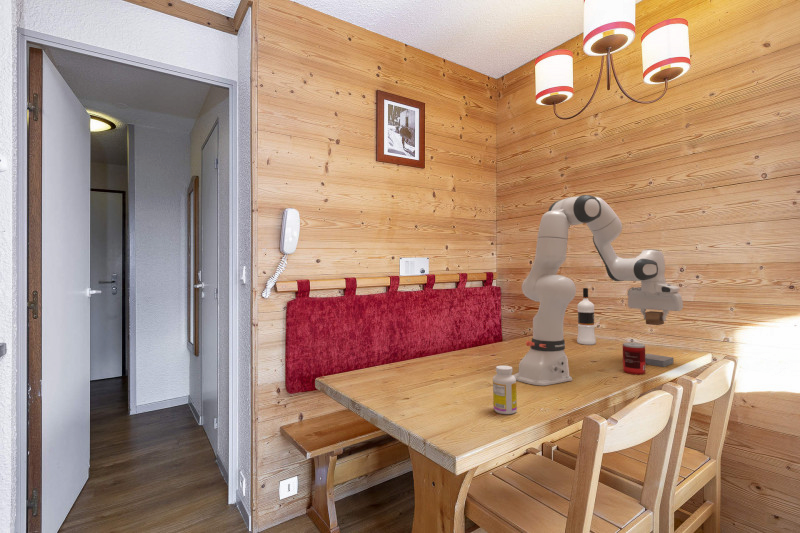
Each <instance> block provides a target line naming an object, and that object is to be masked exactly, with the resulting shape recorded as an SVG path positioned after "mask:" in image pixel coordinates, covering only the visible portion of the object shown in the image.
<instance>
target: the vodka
mask: <svg viewBox="0 0 800 533" xmlns="http://www.w3.org/2000/svg"><path fill="white" fill-rule="evenodd" d="M582 298H583V299H582V300H581V301H580V302H579V303H577V306H576V307H577V338H576V342H577V344H579V345H584V346H592V345H593V346H594V345H595V344H597V339H596V334H595V328H596V325H595V304H594V303H593V302H592V301H590V300H589V288H588V287H582Z"/></svg>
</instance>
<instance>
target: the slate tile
mask: <svg viewBox="0 0 800 533" xmlns="http://www.w3.org/2000/svg"><path fill="white" fill-rule="evenodd" d="M673 364H674V357H673V356H666V355H659V354H655V353H654V354H653V353H645V365H647V366H648V365H650V366H656V367H662V368H666V367H667V366H670V365H673Z"/></svg>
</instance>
